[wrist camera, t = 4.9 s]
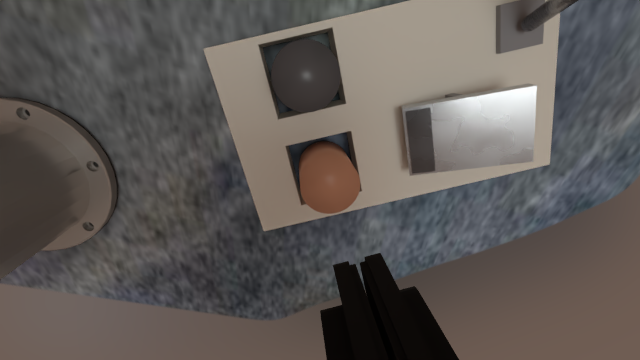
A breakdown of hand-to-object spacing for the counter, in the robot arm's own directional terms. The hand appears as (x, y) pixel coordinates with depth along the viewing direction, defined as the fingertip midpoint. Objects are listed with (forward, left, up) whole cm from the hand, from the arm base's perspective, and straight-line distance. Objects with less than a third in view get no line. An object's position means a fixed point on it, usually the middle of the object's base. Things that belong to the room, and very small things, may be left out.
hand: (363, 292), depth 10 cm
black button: (0, +7, -15) cm, 16 cm away
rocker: (+10, +1, -12) cm, 15 cm away
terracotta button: (0, 0, -15) cm, 15 cm away
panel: (+6, +3, -17) cm, 18 cm away
